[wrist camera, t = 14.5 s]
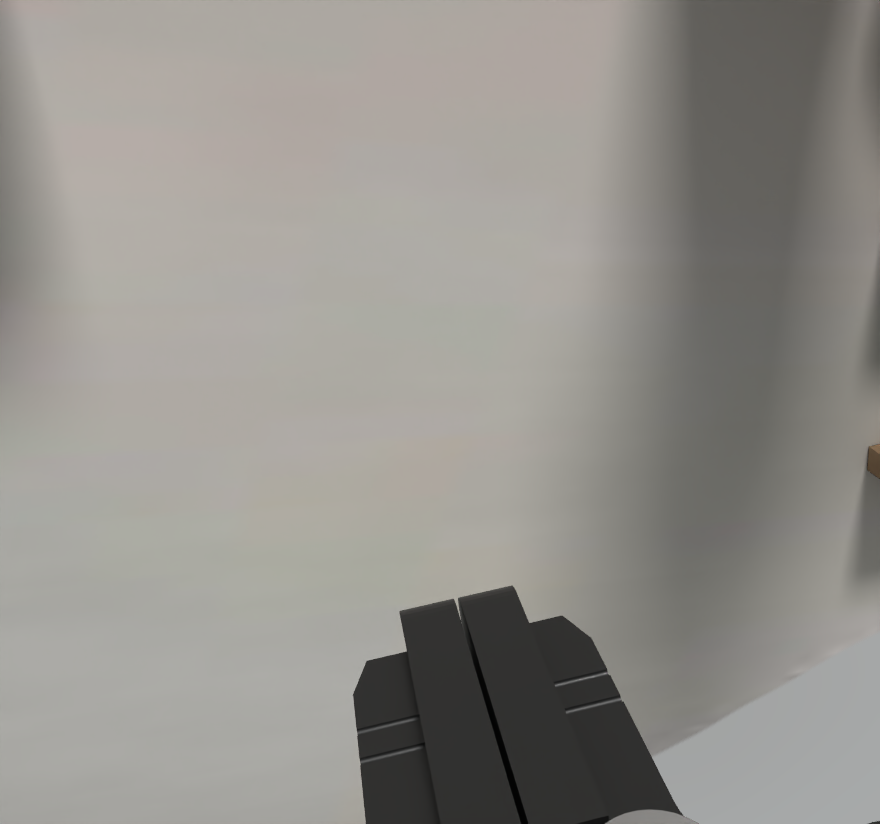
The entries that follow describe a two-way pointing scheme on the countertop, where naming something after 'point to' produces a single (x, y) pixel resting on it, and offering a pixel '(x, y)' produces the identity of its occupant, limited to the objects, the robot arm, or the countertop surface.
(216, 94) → the countertop surface
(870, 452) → the organizer
